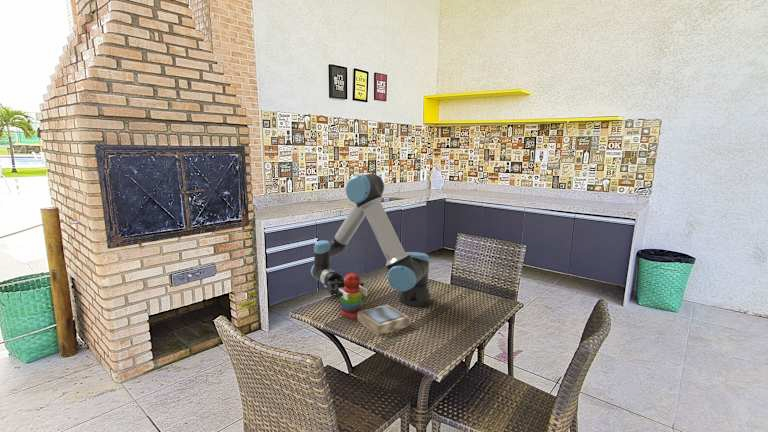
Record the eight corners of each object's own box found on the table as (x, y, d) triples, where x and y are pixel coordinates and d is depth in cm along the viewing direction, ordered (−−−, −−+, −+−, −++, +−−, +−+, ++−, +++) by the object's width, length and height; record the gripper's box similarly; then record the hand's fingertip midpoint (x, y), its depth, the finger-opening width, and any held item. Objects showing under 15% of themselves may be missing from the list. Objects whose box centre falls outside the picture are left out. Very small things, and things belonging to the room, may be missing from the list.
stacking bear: (359, 320, 157) (360, 279, 154) (336, 317, 159) (336, 276, 156) (366, 309, 168) (367, 271, 165) (344, 307, 170) (344, 269, 167)
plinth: (386, 312, 165) (387, 303, 165) (408, 326, 154) (409, 316, 153) (357, 320, 157) (357, 310, 156) (378, 335, 145) (378, 325, 144)
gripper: (351, 282, 183) (378, 298, 165) (310, 291, 171) (334, 308, 153) (351, 267, 182) (378, 281, 164) (310, 275, 169) (334, 291, 151)
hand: (357, 294), depth 158 cm, fingers closed on stacking bear, 9 cm apart
